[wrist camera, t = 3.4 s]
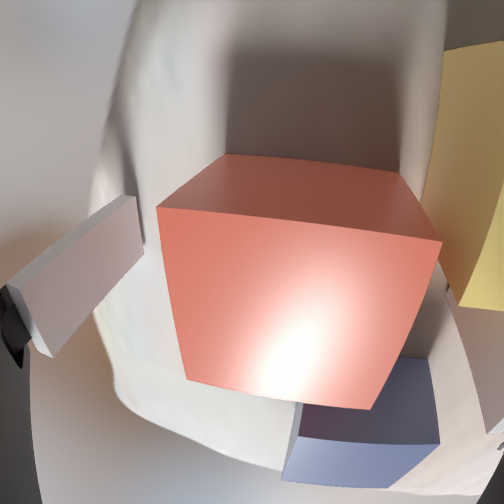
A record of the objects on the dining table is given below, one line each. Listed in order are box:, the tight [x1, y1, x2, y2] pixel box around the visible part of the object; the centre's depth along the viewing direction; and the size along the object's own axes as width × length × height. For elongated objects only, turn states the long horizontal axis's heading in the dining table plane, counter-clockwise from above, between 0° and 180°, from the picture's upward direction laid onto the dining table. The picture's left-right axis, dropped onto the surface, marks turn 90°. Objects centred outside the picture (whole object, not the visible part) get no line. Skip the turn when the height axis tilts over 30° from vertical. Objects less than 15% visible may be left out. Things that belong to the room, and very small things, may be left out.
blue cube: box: [281, 356, 440, 488], centre depth 13 cm, size 6×6×5 cm
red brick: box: [156, 154, 443, 410], centre depth 10 cm, size 6×6×5 cm
